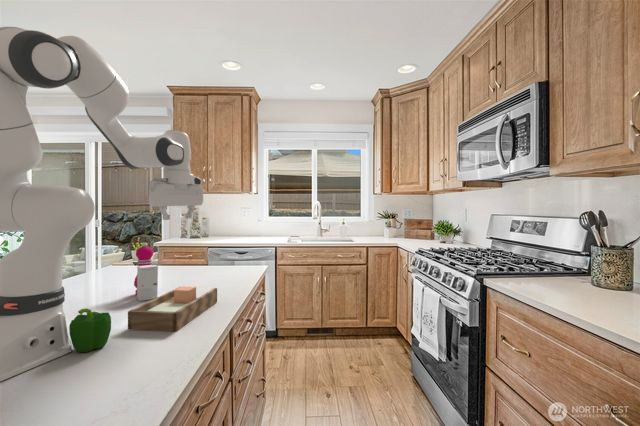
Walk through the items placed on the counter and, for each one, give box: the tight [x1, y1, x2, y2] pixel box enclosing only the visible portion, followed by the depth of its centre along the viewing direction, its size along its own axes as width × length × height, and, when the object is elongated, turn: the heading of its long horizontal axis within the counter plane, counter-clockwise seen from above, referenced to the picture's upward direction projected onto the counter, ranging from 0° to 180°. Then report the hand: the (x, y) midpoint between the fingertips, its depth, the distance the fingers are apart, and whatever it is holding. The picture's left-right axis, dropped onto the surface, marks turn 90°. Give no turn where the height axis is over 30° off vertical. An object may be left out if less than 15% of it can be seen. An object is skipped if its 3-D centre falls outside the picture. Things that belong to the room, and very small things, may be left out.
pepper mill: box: [133, 242, 154, 296], centre depth 126 cm, size 7×7×20 cm
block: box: [173, 285, 197, 303], centre depth 108 cm, size 5×5×4 cm
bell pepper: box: [68, 307, 112, 353], centre depth 78 cm, size 8×8×10 cm
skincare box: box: [136, 264, 159, 302], centre depth 120 cm, size 6×4×12 cm
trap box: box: [127, 286, 218, 332], centre depth 103 cm, size 28×14×5 cm, turn 175°
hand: (177, 219), depth 113 cm, fingers open, 8 cm apart
